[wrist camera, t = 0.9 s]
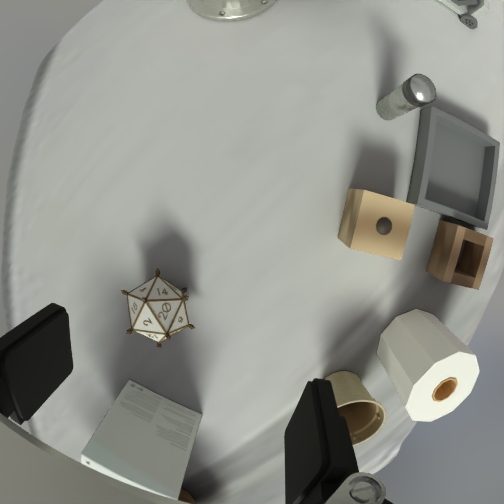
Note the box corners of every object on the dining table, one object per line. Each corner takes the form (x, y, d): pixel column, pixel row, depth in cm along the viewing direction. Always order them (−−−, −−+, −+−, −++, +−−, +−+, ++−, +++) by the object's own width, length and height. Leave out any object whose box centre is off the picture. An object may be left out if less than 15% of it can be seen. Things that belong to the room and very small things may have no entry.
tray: (420, 110, 30) (431, 105, 27) (487, 143, 29) (499, 142, 26) (406, 202, 32) (417, 204, 29) (474, 226, 32) (486, 229, 29)
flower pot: (380, 384, 39) (397, 421, 30) (331, 417, 40) (339, 456, 32) (348, 349, 37) (364, 387, 29) (295, 386, 39) (299, 428, 31)
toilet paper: (388, 380, 38) (415, 434, 27) (367, 332, 37) (397, 386, 25) (442, 347, 37) (481, 391, 25) (428, 295, 35) (475, 334, 23)
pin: (376, 95, 30) (410, 68, 20) (398, 103, 30) (437, 80, 20) (373, 116, 30) (408, 95, 21) (395, 124, 30) (435, 107, 21)
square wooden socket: (439, 219, 33) (458, 224, 28) (474, 232, 32) (493, 238, 28) (425, 270, 34) (442, 281, 30) (461, 279, 34) (478, 289, 30)
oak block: (348, 188, 33) (364, 189, 27) (393, 200, 33) (415, 205, 27) (337, 237, 34) (350, 248, 28) (381, 248, 34) (401, 260, 28)
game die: (170, 275, 40) (145, 244, 31) (215, 314, 38) (200, 292, 29) (128, 321, 38) (92, 302, 29) (170, 364, 35) (141, 358, 26)
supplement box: (116, 420, 44) (78, 485, 27) (129, 377, 41) (78, 452, 24) (180, 451, 45) (157, 523, 28) (204, 413, 42) (179, 500, 25)
